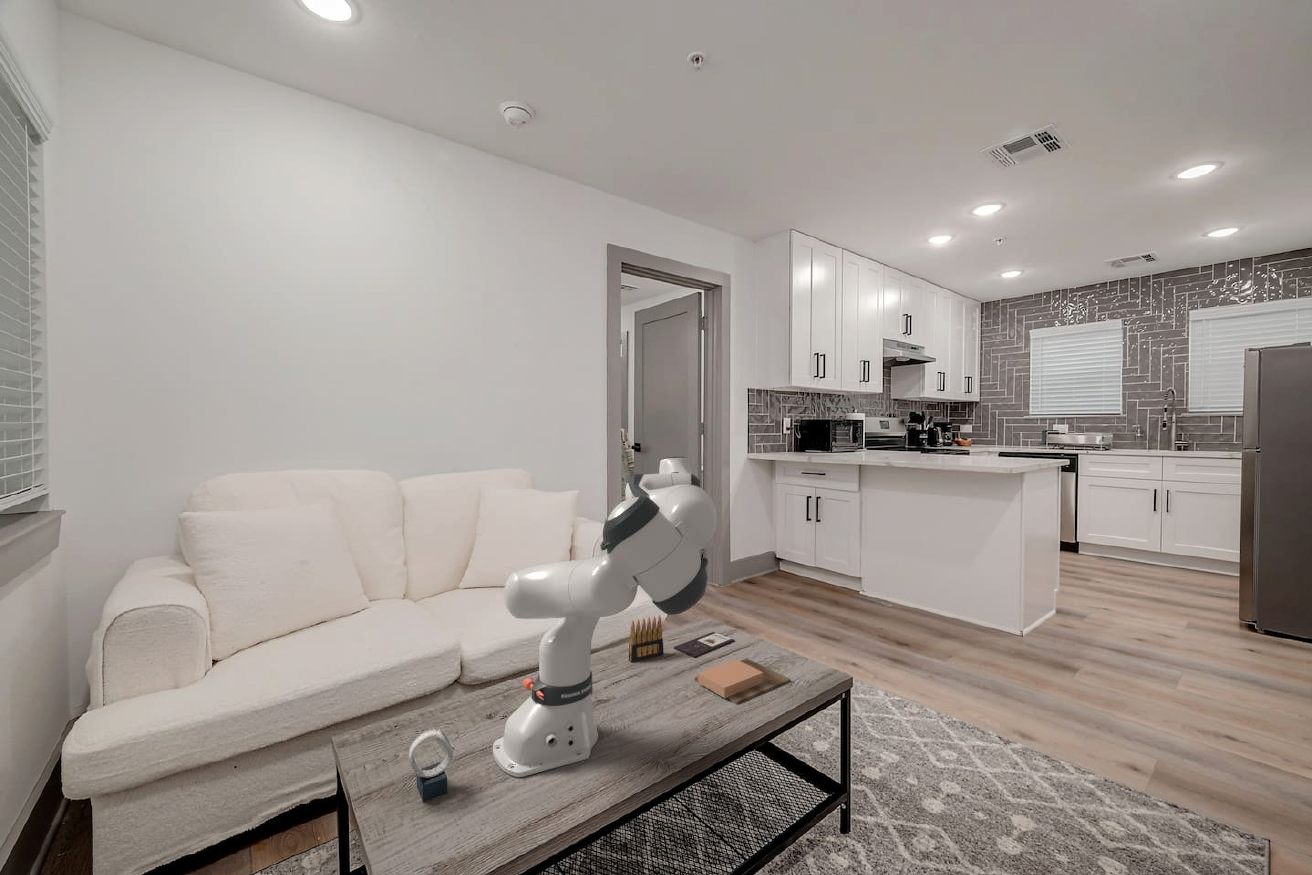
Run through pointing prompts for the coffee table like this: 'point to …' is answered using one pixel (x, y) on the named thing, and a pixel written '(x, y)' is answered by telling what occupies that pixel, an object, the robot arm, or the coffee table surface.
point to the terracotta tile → (730, 678)
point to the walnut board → (769, 682)
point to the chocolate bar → (704, 644)
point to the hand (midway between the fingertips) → (679, 569)
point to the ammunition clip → (646, 640)
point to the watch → (432, 767)
